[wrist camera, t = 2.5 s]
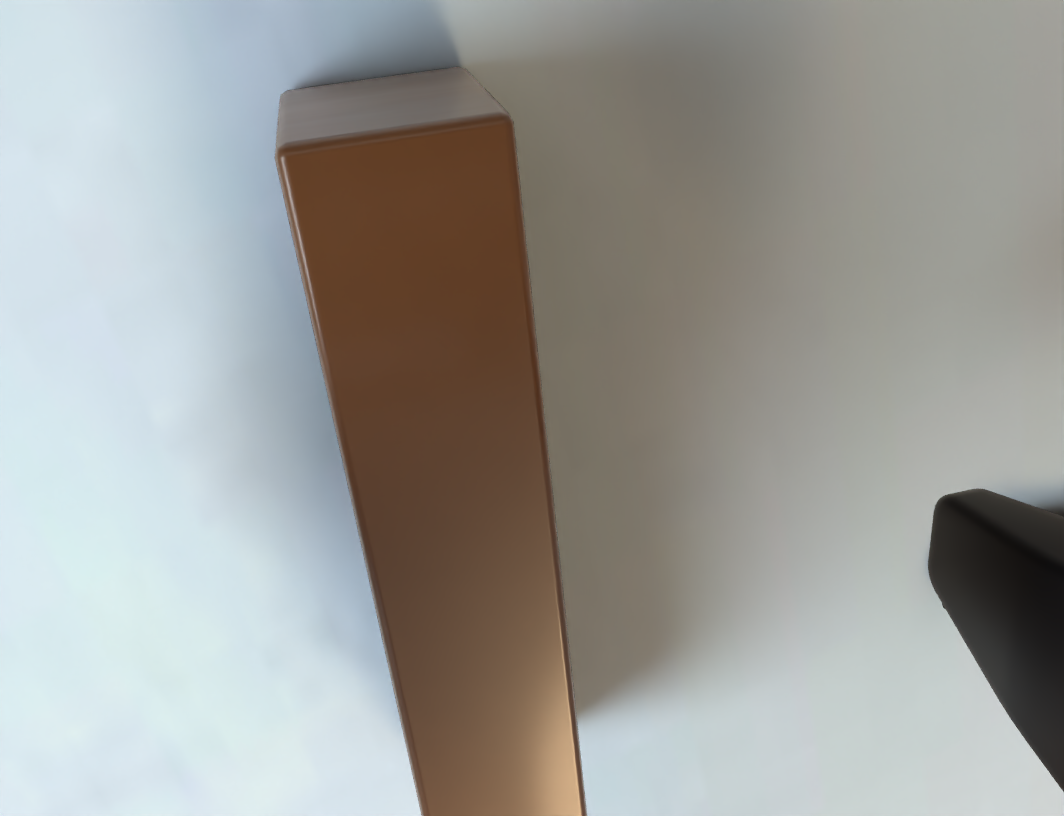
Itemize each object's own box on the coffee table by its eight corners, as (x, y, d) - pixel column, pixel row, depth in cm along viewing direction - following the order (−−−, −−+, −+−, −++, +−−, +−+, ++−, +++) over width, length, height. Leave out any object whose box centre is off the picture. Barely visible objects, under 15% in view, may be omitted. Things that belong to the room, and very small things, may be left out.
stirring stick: (277, 90, 9) (270, 147, 7) (467, 64, 9) (514, 112, 7) (422, 766, 14) (445, 925, 11) (550, 736, 14) (596, 886, 12)
